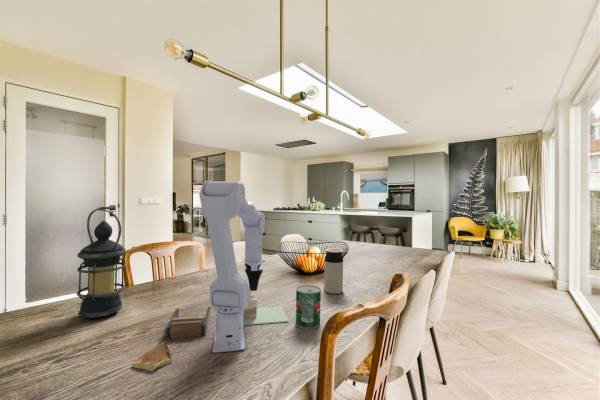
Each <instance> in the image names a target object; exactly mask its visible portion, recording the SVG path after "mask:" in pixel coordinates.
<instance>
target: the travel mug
mask: <svg viewBox="0 0 600 400" xmlns="http://www.w3.org/2000/svg"><path fill="white" fill-rule="evenodd" d="M343 251H344V250H343V249H341V248H340V249H339V248H326V249H325V253H326V254H325V256H324V282H323V283H324V285H323V291H324V292H325V293H328V294H331V295H338V294H341V293H342V292H343V288H344V287H343V282H344V279H343V278H344V256H343Z"/></svg>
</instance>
